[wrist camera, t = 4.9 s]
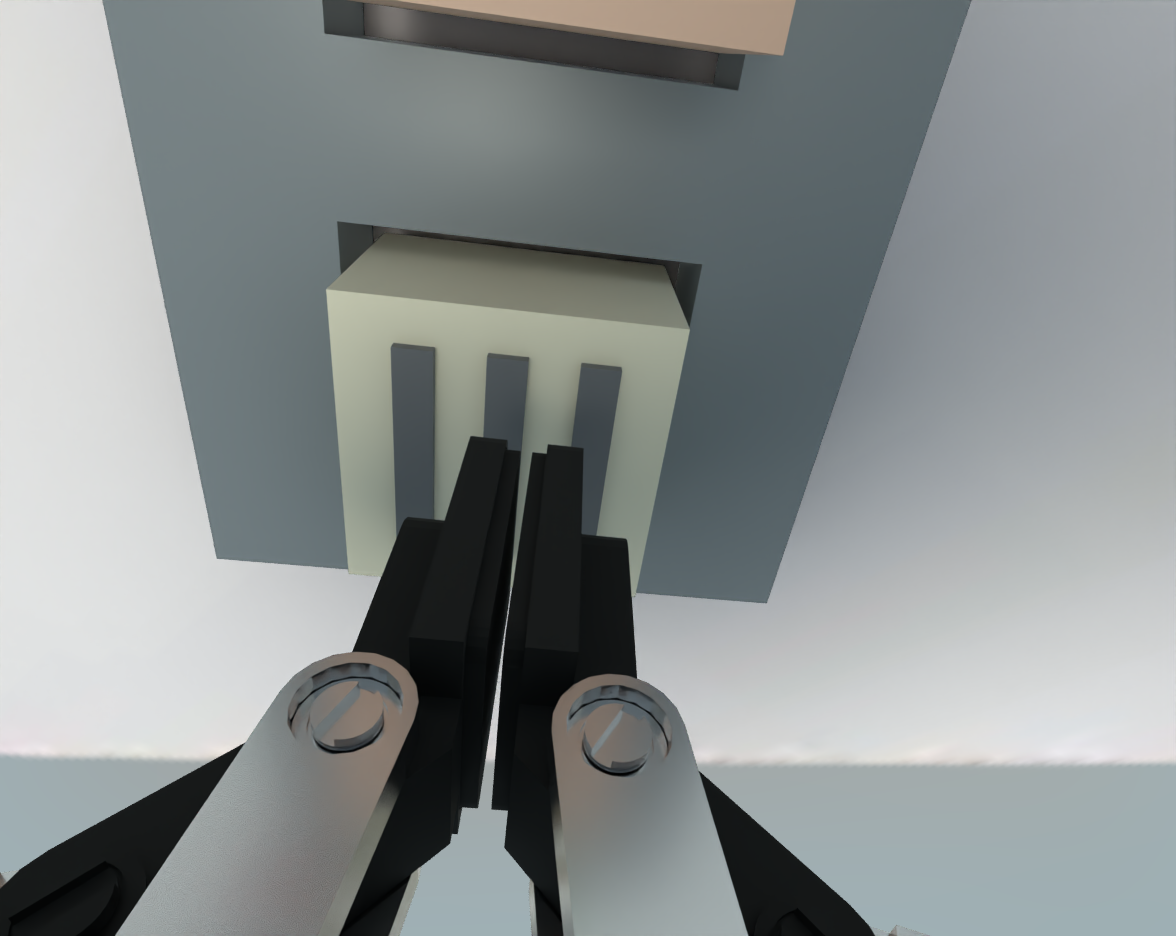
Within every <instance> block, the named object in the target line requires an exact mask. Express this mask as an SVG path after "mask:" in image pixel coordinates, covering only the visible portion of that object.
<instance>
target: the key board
mask: <svg viewBox="0 0 1176 936" xmlns="http://www.w3.org/2000/svg"><path fill="white" fill-rule="evenodd" d="M970 3H971V0H796V2H795V6H794V10H793V15H792V19H791V23H790V28H789V32H788V36H787V41H786V45H785V50H784V54H783V56H779V55H752V54H725V53H719V57H718V63H717V68H716V73H715V79H714V84H708V83H701V82H694V81H686V80H679V79H672V78H665V77H658V76H650V75H643V74H636V73H629V72H621V71H614V70H607V69H600V68H593V67H585V66H578V65H571V64H564V63H557V62H549V61H542V60H535V59H528V58H520V57H513V56H506V55H499V54H492V53H484V52H477V51H470V50H463V49H455V48H448V47H441V46H434V45H427V44H419V43H412V42H405V41H398V40H390V39H383V38H376V37H369V36H364V17H363V3H362V2H355V1H348V0H103V5H104V10H105V15H106V20H107V25H108V30H109V34H110V39H111V44H112V49H113V54H114V59H115V64H116V69H117V73H118V78H119V83H120V88H121V93H122V98H123V103H124V108H125V113H126V117H127V122H128V127H129V132H130V137H131V142H132V147H133V152H134V156H135V161H136V166H137V171H138V176H139V181H140V186H141V191H142V195H143V200H144V205H145V210H146V215H147V220H148V225H149V230H150V235H151V239H152V244H153V249H154V254H155V259H156V264H157V269H158V274H159V278H160V283H161V288H162V293H163V298H164V303H165V308H166V313H167V318H168V322H169V327H170V332H171V337H172V342H173V347H174V352H175V357H176V361H177V366H178V371H179V376H180V381H181V386H182V391H183V396H184V401H185V405H186V410H187V415H188V420H189V425H190V430H191V435H192V440H193V444H194V449H195V454H196V459H197V464H198V469H199V474H200V479H201V484H202V488H203V493H204V498H205V503H206V508H207V513H208V518H209V523H210V527H211V532H212V537H213V542H214V547H215V552H216V557H217V559H228V560H240V561H253V562H265V563H277V564H290V565H302V566H314V567H326V568H339V569H348V560H347V547H346V534H345V522H344V509H343V496H342V484H341V471H340V459H339V446H338V433H337V421H336V408H335V395H334V383H333V370H332V357H331V345H330V332H329V320H328V307H327V294H326V289H327V288H328V287H329V286H330V285H331V284H332V283H333V282H334V281H335V280H336V279H337V278H338V277H339V276H340V275H341V274H342V273H343V272H344V271H346V270H347V269H348V268H349V267H350V266H351V265H352V264H353V263H354V262H355V261H356V260H357V259H358V258H359V257H360V256H361V255H362V254H363V253H364V252H365V251H366V250H367V249H368V248H369V247H370V246H371V245H372V244H373V233H372V225H373V226H382V227H390V228H399V229H407V230H416V231H424V232H432V233H441V234H449V235H458V236H466V237H475V238H483V239H492V240H500V241H508V242H517V243H525V244H534V245H542V246H551V247H559V248H568V249H576V250H584V251H593V252H601V253H610V254H618V255H627V256H635V257H644V258H652V259H661V260H669V261H677V262H680V265H679V270H678V276H677V281H676V286H675V294H676V296H677V299H678V301H679V304H680V306H681V309H682V311H683V314H684V316H685V318H686V321H687V323H688V326H689V328H690V332H689V337H688V342H687V347H686V352H685V356H684V361H683V366H682V371H681V376H680V381H679V386H678V390H677V395H676V400H675V405H674V410H673V415H672V420H671V424H670V429H669V434H668V439H667V444H666V449H665V454H664V459H663V463H662V468H661V473H660V478H659V483H658V488H657V493H656V497H655V502H654V507H653V512H652V517H651V522H650V527H649V532H648V536H647V541H646V546H645V551H644V556H643V561H642V566H641V570H640V575H639V580H638V585H637V590H636V593H646V594H658V595H670V596H683V597H695V598H707V599H719V600H732V601H744V602H756V603H767V601H768V598H769V595H770V592H771V589H772V586H773V583H774V580H775V577H776V574H777V571H778V568H779V566H780V563H781V560H782V557H783V554H784V551H785V548H786V545H787V542H788V539H789V536H790V533H791V530H792V527H793V524H794V521H795V518H796V515H797V513H798V510H799V507H800V504H801V501H802V498H803V495H804V492H805V489H806V486H807V483H808V480H809V477H810V474H811V471H812V468H813V465H814V462H815V459H816V457H817V454H818V451H819V448H820V445H821V442H822V439H823V436H824V433H825V430H826V427H827V424H828V421H829V418H830V415H831V412H832V409H833V406H834V403H835V401H836V398H837V395H838V392H839V389H840V386H841V383H842V380H843V377H844V374H845V371H846V368H847V365H848V362H849V359H850V356H851V353H852V350H853V347H854V345H855V342H856V339H857V336H858V333H859V330H860V327H861V324H862V321H863V318H864V315H865V312H866V309H867V306H868V303H869V300H870V297H871V294H872V292H873V289H874V286H875V283H876V280H877V277H878V274H879V271H880V268H881V265H882V262H883V259H884V256H885V253H886V250H887V247H888V244H889V241H890V238H891V236H892V233H893V230H894V227H895V224H896V221H897V218H898V215H899V212H900V209H901V206H902V203H903V200H904V197H905V194H906V191H907V188H908V185H909V182H910V180H911V177H912V174H913V171H914V168H915V165H916V162H917V159H918V156H919V153H920V150H921V147H922V144H923V141H924V138H925V135H926V132H927V129H928V127H929V124H930V121H931V118H932V115H933V112H934V109H935V106H936V103H937V100H938V97H939V94H940V91H941V88H942V85H943V82H944V79H945V76H946V73H947V71H948V68H949V65H950V62H951V59H952V56H953V53H954V50H955V47H956V44H957V41H958V38H959V35H960V32H961V29H962V26H963V23H964V20H965V17H966V15H967V12H968V9H969V6H970Z"/></svg>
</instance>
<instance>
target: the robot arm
mask: <svg viewBox="0 0 1176 936" xmlns="http://www.w3.org/2000/svg"><path fill="white" fill-rule="evenodd" d="M583 454H584V448H580V447H570V446H561V445H552V444H548V446H547V454H546V453H536V452H532V457H531V464H530V471H529V478H528V485H527V491H526V498H525V505H524V512H523V519H522V526H521V532H520V539H519V546H518V553H517V560H516V567H515V573H514V580H513V587H512V594H511V601H510V608H509V614H508V621H507V629H506V637H505V645H504V655H503V665H502V678H501V691H500V704H499V717H498V730H497V743H496V756H495V769H494V784H493V795H492V809H493V810H507V811H508V817H507V826H506V836H505V846H504V847H505V849H506V850H507V851H508V852H509V854H510V855H511V856H512V857H513V858H514V860H515V861H516V862H517V863H518V865H519V866H520V867H521V868H522V869H523V871H524V872H525V873H526V874H527V875H528V877H529V878H530V882H529V901H530V916H531V932H532V936H929V935H926V934H923V933H919V932H917V931H914V930H910V929H907V928H904V927H901V926H898V925H896V926H895V927H894V928H893V930H892V931H891V932H890V933H888V932H885V931H882V930H879V929H876V928H873V927H870V926H869V925H868V924H867V923H866V922H865V921H864V920H863V919H862V918H861V917H860V916H859V915H858V913H857V912H856V911H855V910H854V909H853V908H852V907H851V906H850V905H849V904H848V903H847V902H846V901H845V900H843V898H841V897H840V896H839V895H838V894H837V893H836V892H835V891H834V890H832V889H831V888H830V887H829V886H828V885H827V884H826V883H825V882H823V881H822V880H821V879H820V878H819V877H818V876H817V875H816V874H814V873H813V872H812V871H811V870H810V869H809V868H808V867H806V866H805V865H804V864H803V863H802V862H801V861H800V860H799V859H797V858H796V857H795V856H794V855H793V854H792V853H791V852H790V851H789V850H787V849H786V848H785V847H784V846H783V845H782V844H781V843H779V842H778V841H777V840H776V839H775V838H774V837H773V836H771V835H770V834H769V833H768V832H767V831H766V830H765V829H764V828H763V827H761V826H760V825H759V824H758V823H757V822H756V821H755V820H754V819H752V818H751V817H750V816H749V815H748V814H747V813H746V812H745V811H743V810H742V809H741V808H740V807H739V806H738V805H737V804H735V803H734V802H733V801H732V800H731V799H730V798H729V797H728V796H727V795H725V794H724V793H723V792H722V791H721V790H720V789H719V788H718V787H716V786H715V785H714V784H713V783H712V782H711V781H710V780H709V779H707V778H706V777H705V776H704V775H703V774H702V773H701V772H699V770H698V767H697V764H696V760H695V757H694V754H693V750H692V747H691V744H690V740H689V737H688V734H687V730H686V727H685V724H684V722H683V720H682V718H681V716H680V714H679V712H678V710H677V708H676V707H675V706H674V704H673V703H672V702H671V701H670V700H669V699H668V698H667V697H666V696H665V694H664V693H662V692H661V691H659V690H658V689H656V688H655V687H653V686H652V685H650V684H648V683H647V682H644V681H642V680H639V679H637V670H636V655H635V640H634V625H633V610H632V595H631V580H630V565H629V550H628V542H627V539H626V538H616V537H606V536H596V535H586V534H582V495H583ZM520 459H521V451H518V450H508V440H505V439H495V438H486V437H477V436H470V439H469V442H468V445H467V448H466V452H465V455H464V458H463V462H462V465H461V468H460V471H459V475H458V478H457V481H456V485H455V488H454V491H453V494H452V498H451V501H450V504H449V507H448V511H447V514H446V517H445V520H435V519H425V518H415V517H407V518H406V519H405V520H404V522H403V524H402V526H401V528H400V531H399V533H398V536H397V538H396V541H395V543H394V546H393V549H392V551H391V554H390V556H389V559H388V561H387V564H386V567H385V569H384V572H383V574H382V577H381V579H380V582H379V585H378V587H377V590H376V592H375V595H374V597H373V600H372V603H371V605H370V608H369V610H368V613H367V615H366V618H365V621H364V623H363V626H362V628H361V631H360V633H359V636H358V639H357V641H356V644H355V646H354V649H353V651H352V652H350V653H344V654H337V655H332V656H330V657H327V658H325V659H322V660H319V661H317V662H314V663H312V664H311V665H309V666H308V667H306V668H305V669H303V670H302V671H300V672H299V673H297V674H296V675H294V676H293V677H292V679H291V680H290V681H289V682H288V683H287V684H286V685H285V686H284V687H283V689H282V690H281V691H280V692H279V694H278V695H277V697H276V698H275V700H274V701H273V703H272V704H271V705H270V707H269V708H268V710H267V711H266V713H265V714H264V716H263V717H262V719H261V720H260V722H259V723H258V725H257V726H256V728H255V729H254V731H253V732H252V734H251V735H250V737H249V738H248V740H247V741H246V743H244V744H242V745H240V746H238V747H236V748H235V749H233V750H231V751H229V752H227V753H225V754H224V755H222V756H220V757H218V758H216V759H214V760H213V761H211V762H209V763H207V764H205V765H204V766H202V767H200V768H198V769H196V770H195V771H193V772H191V773H189V774H187V775H185V776H183V777H182V778H180V779H178V780H176V781H175V782H172V783H171V784H169V785H167V786H165V787H163V788H161V789H160V790H158V791H156V792H154V793H153V794H150V795H149V796H147V797H145V798H143V799H142V800H140V801H138V802H136V803H134V804H132V805H130V806H129V807H127V808H125V809H123V810H121V811H119V812H118V813H116V814H114V815H112V816H110V817H108V818H107V819H105V820H103V821H101V822H99V823H97V824H96V825H94V826H92V827H90V828H88V829H86V830H85V831H83V832H81V833H79V834H77V835H75V836H74V837H72V838H70V839H68V840H66V841H65V842H63V843H61V844H59V845H57V846H55V847H54V848H52V849H50V850H48V851H47V852H45V853H44V854H43V855H41V856H39V857H38V858H36V859H35V860H33V861H32V862H30V863H29V864H27V865H26V866H24V867H23V868H21V869H20V870H17V871H12V872H5V873H0V936H399V935H400V933H401V930H402V927H403V924H404V921H405V918H406V916H407V913H408V910H409V907H410V904H411V902H412V899H413V896H414V893H415V890H416V887H417V884H418V881H419V876H420V871H421V866H422V865H423V864H425V863H426V862H427V861H428V860H430V859H431V858H432V857H433V856H435V855H436V854H437V853H439V852H440V851H441V850H442V849H444V848H445V847H446V846H448V845H449V844H450V841H451V835H452V834H458V828H459V822H460V816H461V811H462V807H467V808H478V804H479V799H480V792H481V786H482V779H483V772H484V766H485V759H486V752H487V746H488V739H489V732H490V726H491V719H492V712H493V705H494V699H495V692H496V685H497V678H498V672H499V665H500V658H501V652H502V645H503V638H504V631H505V625H506V618H507V611H508V604H509V596H510V586H511V573H512V560H513V548H514V535H515V522H516V510H517V497H518V485H519V472H520Z"/></svg>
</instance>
